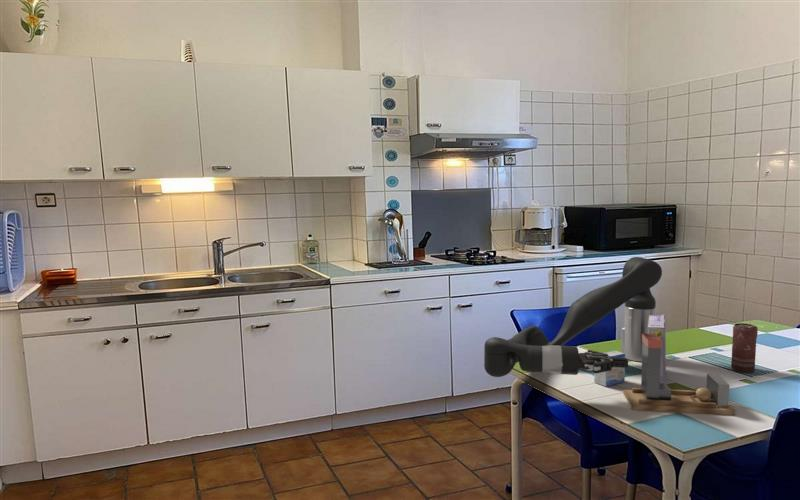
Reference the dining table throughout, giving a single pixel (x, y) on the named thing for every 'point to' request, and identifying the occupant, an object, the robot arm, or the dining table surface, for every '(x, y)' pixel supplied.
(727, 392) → the grey stop block
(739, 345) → the can
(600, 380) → the medicine box
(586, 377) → the dining table surface
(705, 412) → the board
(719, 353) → the dining table surface
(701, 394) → the walnut
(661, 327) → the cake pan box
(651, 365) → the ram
